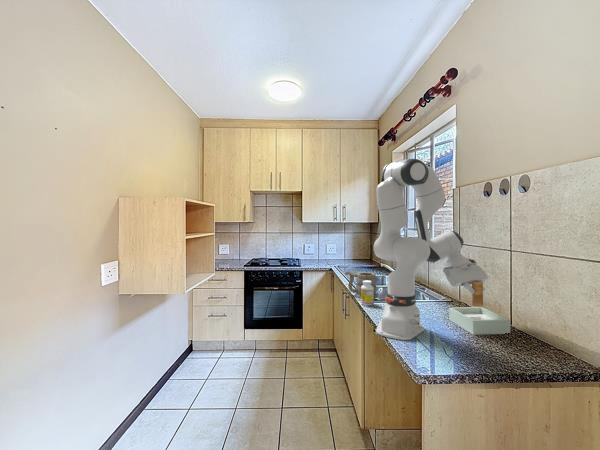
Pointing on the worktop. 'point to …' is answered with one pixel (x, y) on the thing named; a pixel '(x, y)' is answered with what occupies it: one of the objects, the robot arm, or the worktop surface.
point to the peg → (477, 293)
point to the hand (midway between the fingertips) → (478, 291)
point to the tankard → (360, 279)
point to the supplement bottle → (367, 293)
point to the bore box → (479, 320)
